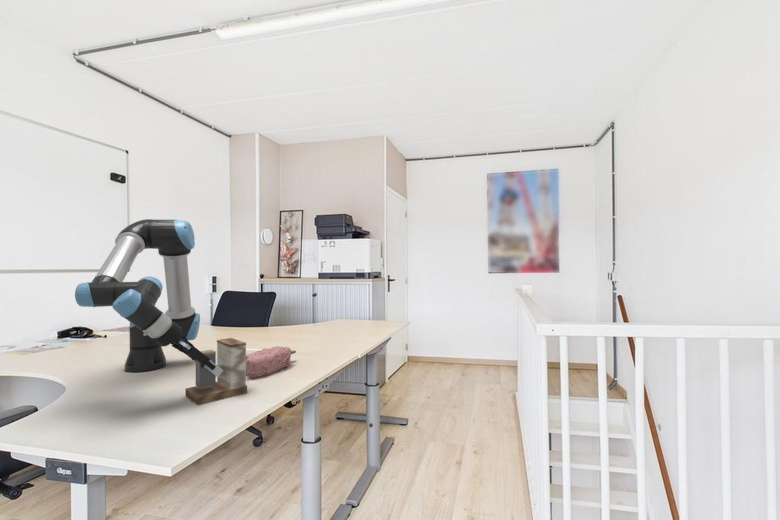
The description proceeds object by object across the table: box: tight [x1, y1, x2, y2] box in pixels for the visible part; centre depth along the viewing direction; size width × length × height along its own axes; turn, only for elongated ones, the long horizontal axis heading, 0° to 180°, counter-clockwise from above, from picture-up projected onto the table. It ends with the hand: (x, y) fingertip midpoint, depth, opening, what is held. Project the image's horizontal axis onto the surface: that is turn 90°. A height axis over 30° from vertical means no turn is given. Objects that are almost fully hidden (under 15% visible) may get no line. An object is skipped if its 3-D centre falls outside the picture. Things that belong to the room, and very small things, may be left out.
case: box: [195, 349, 217, 388], centre depth 129 cm, size 5×4×11 cm
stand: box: [184, 337, 248, 406], centre depth 131 cm, size 16×12×17 cm
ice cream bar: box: [246, 345, 297, 379], centre depth 161 cm, size 13×9×30 cm
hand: (217, 372), depth 131 cm, fingers closed on case, 4 cm apart
